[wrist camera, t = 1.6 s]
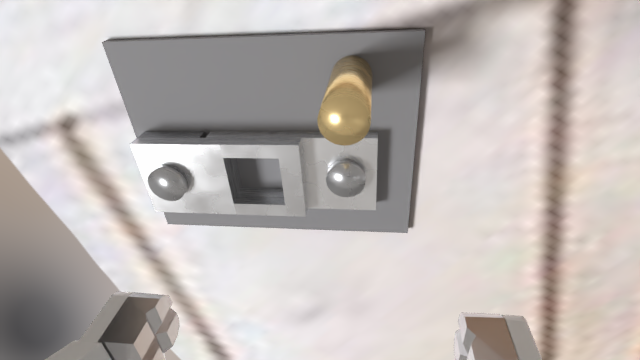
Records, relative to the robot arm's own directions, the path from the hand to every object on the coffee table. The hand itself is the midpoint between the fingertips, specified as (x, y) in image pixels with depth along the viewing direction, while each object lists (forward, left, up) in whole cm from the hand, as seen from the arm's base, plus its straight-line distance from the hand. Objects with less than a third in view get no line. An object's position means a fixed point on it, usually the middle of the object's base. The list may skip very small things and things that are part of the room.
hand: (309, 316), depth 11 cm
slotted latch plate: (+8, +8, -22) cm, 24 cm away
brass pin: (0, 0, -21) cm, 21 cm away
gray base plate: (+7, +6, -22) cm, 23 cm away
